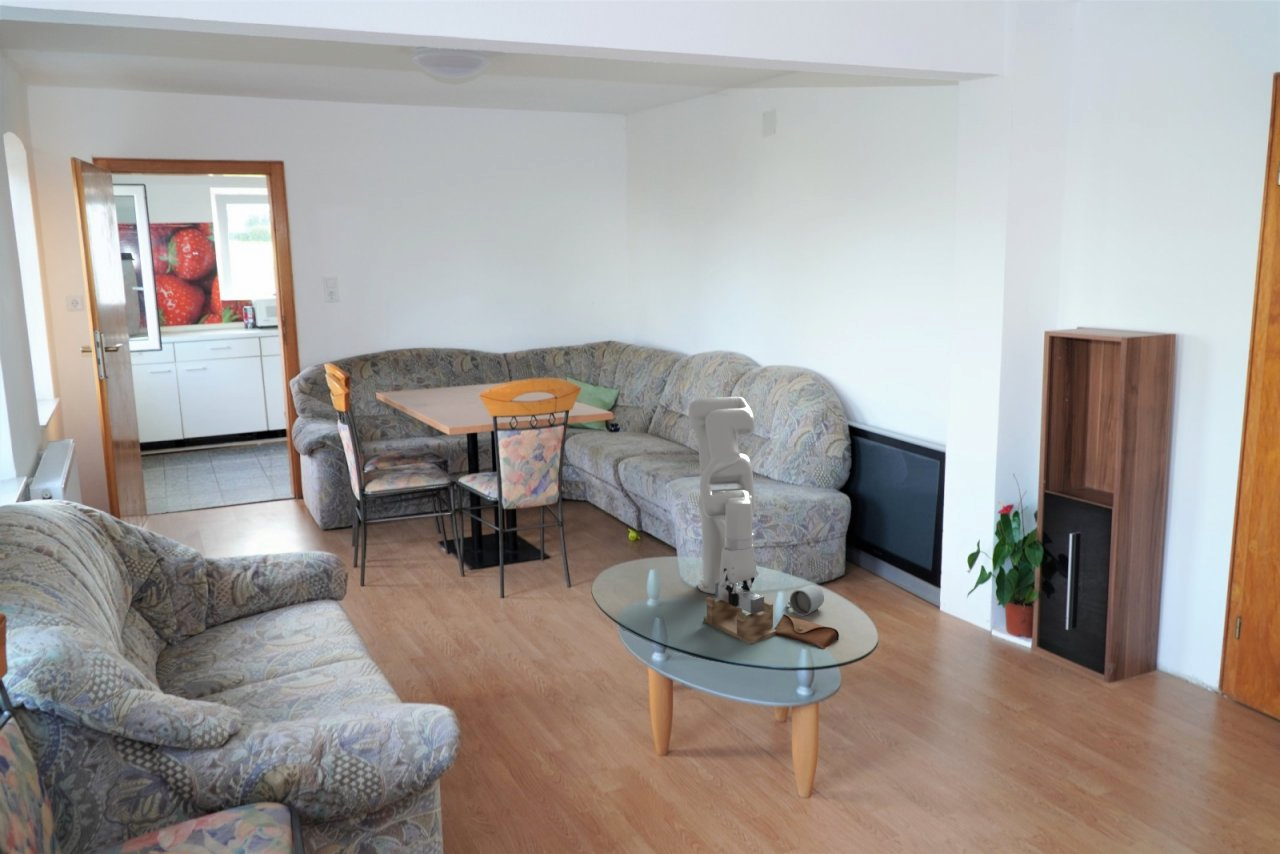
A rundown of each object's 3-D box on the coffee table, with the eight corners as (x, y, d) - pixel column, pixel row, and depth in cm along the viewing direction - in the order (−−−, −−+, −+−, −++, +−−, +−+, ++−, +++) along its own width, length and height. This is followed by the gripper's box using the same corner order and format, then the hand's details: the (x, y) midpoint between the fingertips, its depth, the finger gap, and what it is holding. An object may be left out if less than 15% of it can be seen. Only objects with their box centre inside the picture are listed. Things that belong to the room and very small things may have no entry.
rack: (731, 611, 302) (731, 585, 300) (778, 633, 286) (778, 606, 284) (701, 621, 296) (701, 595, 294) (748, 645, 280) (748, 617, 278)
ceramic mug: (826, 609, 302) (825, 584, 300) (811, 618, 296) (811, 593, 294) (795, 601, 308) (794, 577, 307) (780, 610, 302) (780, 586, 301)
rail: (726, 593, 297) (726, 579, 296) (764, 610, 284) (764, 596, 283) (715, 597, 294) (715, 583, 293) (753, 614, 282) (753, 600, 281)
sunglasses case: (767, 633, 286) (773, 610, 288) (778, 637, 292) (784, 615, 293) (824, 649, 276) (831, 625, 277) (835, 653, 281) (841, 630, 282)
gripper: (751, 531, 293) (752, 591, 297) (707, 545, 283) (708, 606, 288) (770, 538, 287) (770, 599, 291) (724, 552, 277) (725, 615, 282)
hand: (739, 602), depth 289 cm, fingers closed on rail, 4 cm apart
